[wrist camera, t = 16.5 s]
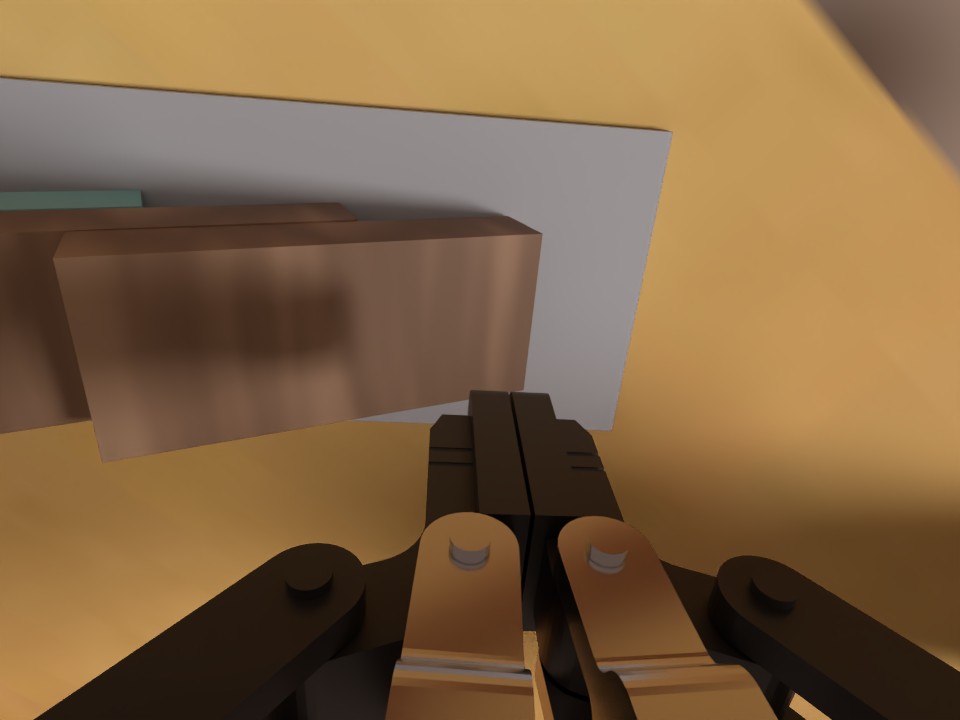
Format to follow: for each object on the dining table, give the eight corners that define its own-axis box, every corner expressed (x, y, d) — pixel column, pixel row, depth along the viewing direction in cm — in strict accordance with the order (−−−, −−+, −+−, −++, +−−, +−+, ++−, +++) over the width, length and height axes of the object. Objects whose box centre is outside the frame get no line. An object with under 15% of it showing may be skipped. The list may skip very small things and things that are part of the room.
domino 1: (357, 219, 16) (-219, 240, 11) (360, 379, 18) (-125, 452, 14) (338, 202, 18) (-174, 215, 13) (343, 351, 20) (-96, 408, 15)
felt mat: (668, 130, 18) (672, 132, 17) (608, 424, 22) (611, 431, 22) (-323, 51, 16) (-341, 51, 15) (-169, 392, 20) (-181, 398, 20)
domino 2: (542, 233, 16) (52, 258, 12) (523, 390, 18) (102, 462, 14) (507, 215, 18) (64, 231, 13) (493, 361, 20) (107, 418, 15)
